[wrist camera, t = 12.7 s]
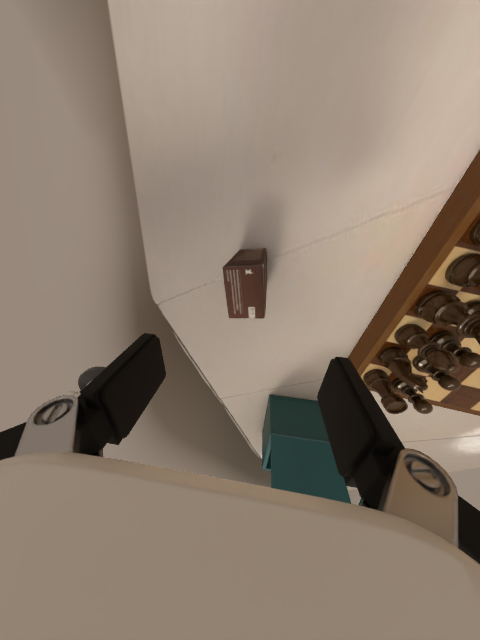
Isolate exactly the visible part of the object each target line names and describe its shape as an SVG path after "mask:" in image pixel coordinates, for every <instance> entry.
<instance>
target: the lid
mask: <svg viewBox="0 0 480 640" xmlns="http://www.w3.org/2000/svg"><path fill="white" fill-rule="evenodd" d="M270 441H271V488H274V489H280V490H285V491H290V492H295V493H300V494H306V495H311V496H316V497H321V498H326V499H330V500H335V501H340V502H345V503H349V504H351V501H350V497H349V494H348V490H347V487H346V484H345V481H344V478H343V476H340V474H339V472H338V469H337V466H336V462H335V459H334V455H333V452H332V449H331V445H330V443H326V442H319V441H312V440H306V439H299V438H292V437H286V436H279V435H273V434H271V436H270Z"/></svg>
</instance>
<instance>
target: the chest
mask: <svg viewBox="0 0 480 640" xmlns="http://www.w3.org/2000/svg"><path fill="white" fill-rule="evenodd" d="M271 434H273V435H279V436H286V437H292V438H299V439H306V440H312V441H319V442H326V443H330V442H329V438H328V435H327V431H326V428H325V424H324V421H323V417H322V414H321V410H320V407H319V404H318V401H312V400H304V399H297V398H290V397H282V396H275V395H269V400H268V405H267V410H266V415H265V421H264V426H263V431H262V469H263V470H268V471H271V441H270V436H271Z"/></svg>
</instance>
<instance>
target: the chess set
mask: <svg viewBox="0 0 480 640" xmlns="http://www.w3.org/2000/svg"><path fill="white" fill-rule="evenodd" d="M348 358H349V359H350V360H351V362H352V363H353V365H354V367H355V368H356V370H357V372H358V373H359V375H360V376H361V378H362V380H363V381H364V383H365V385H366V386H367V388H368V390H371V391H375V392H377V393H378V394H379V395H380V396H381V398H382V399H381V403H382V405H383V407H384V408H385V409H386V411H387V412H389V413H391V414H399V413H402V412H404V411H405V410H406V409H407V408H408V405H407V403H406V402H405V401H404V399H403V398H406V399H408V401H409V402H410V403H413V407H414V408H415V409H416V410H417V411H418V412H420V413H422V414H428V413H430V412H432V410H433V407H432V405H436V406H440V407H444V408H449V409H453V410H457V411H462V412H466V413H470V414H474V415H479V416H480V151H479V153H478V154H477V156H476V157H475V159H474V160H473V162H472V164H471V165H470V167H469V168H468V170H467V171H466V173H465V175H464V176H463V178H462V179H461V181H460V182H459V184H458V186H457V187H456V189H455V190H454V192H453V193H452V195H451V197H450V198H449V200H448V201H447V203H446V204H445V206H444V208H443V209H442V211H441V212H440V214H439V216H438V217H437V219H436V220H435V222H434V223H433V225H432V227H431V228H430V230H429V231H428V233H427V234H426V236H425V238H424V239H423V241H422V242H421V244H420V245H419V247H418V249H417V250H416V252H415V253H414V255H413V256H412V258H411V260H410V261H409V263H408V264H407V266H406V267H405V269H404V271H403V272H402V274H401V275H400V277H399V278H398V280H397V282H396V283H395V285H394V286H393V288H392V290H391V291H390V293H389V294H388V296H387V297H386V299H385V301H384V302H383V304H382V305H381V307H380V308H379V310H378V312H377V313H376V315H375V316H374V318H373V319H372V321H371V323H370V324H369V326H368V327H367V329H366V330H365V332H364V334H363V335H362V337H361V338H360V340H359V341H358V343H357V345H356V346H355V348H354V349H353V351H352V352H351V354H350V356H349V357H348Z"/></svg>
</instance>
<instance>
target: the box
mask: <svg viewBox="0 0 480 640" xmlns="http://www.w3.org/2000/svg"><path fill="white" fill-rule="evenodd" d="M223 274H224V284H225V291H226V299H227V307H228V314H229V318H264V317H265V309H266V290H267V252H266V248H259V249H245V250H239V251H238V252H237V253H236V254H235V255H234V256H233V258H232V259H231V260H230V261H229V262H228V263H227V264H226V265H225V266H224V267H223Z"/></svg>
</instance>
